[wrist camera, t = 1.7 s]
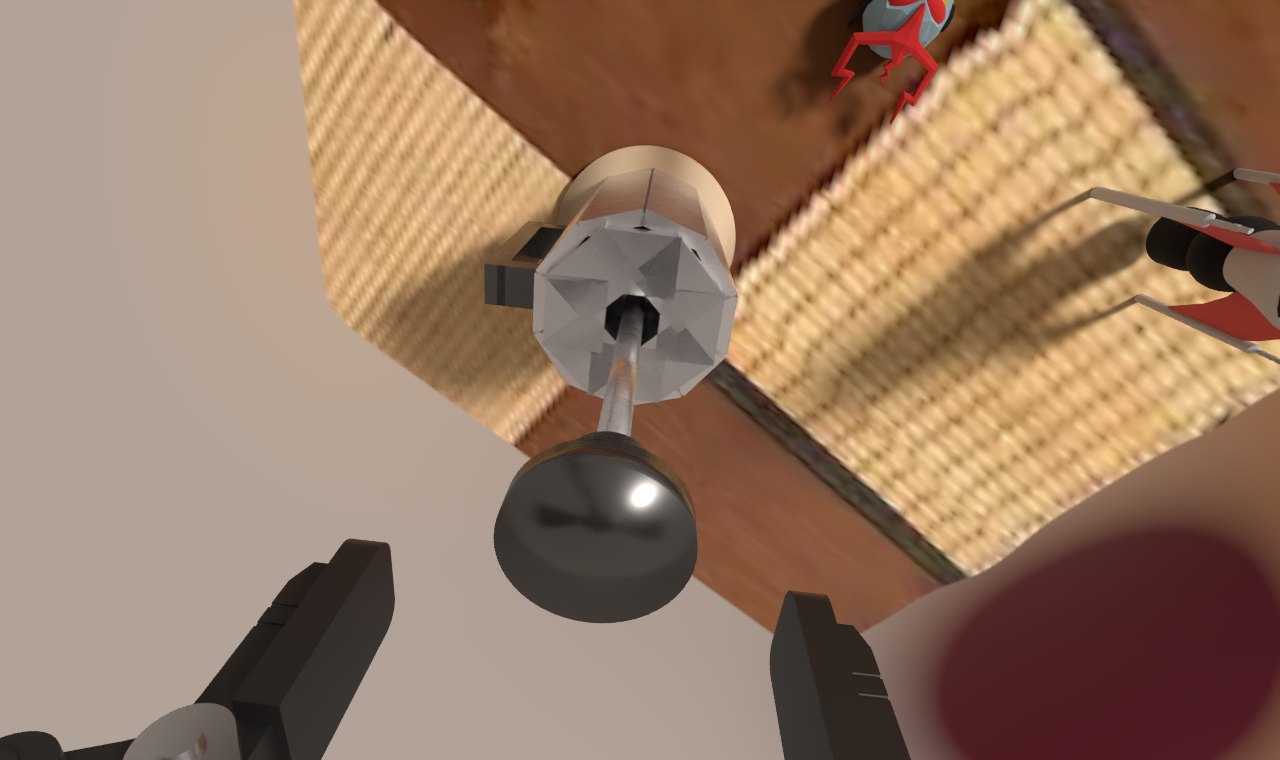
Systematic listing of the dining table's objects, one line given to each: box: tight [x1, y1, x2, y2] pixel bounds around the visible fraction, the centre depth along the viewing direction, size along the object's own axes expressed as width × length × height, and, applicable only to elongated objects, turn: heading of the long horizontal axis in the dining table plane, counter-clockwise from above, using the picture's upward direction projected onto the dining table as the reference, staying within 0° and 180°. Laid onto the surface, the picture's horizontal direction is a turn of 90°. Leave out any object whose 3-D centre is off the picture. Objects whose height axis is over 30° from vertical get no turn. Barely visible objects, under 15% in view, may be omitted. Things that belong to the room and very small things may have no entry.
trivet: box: [556, 145, 735, 269], centre depth 41 cm, size 12×12×1 cm
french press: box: [485, 167, 738, 405], centre depth 34 cm, size 12×10×15 cm
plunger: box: [494, 294, 697, 623], centre depth 22 cm, size 6×6×18 cm
